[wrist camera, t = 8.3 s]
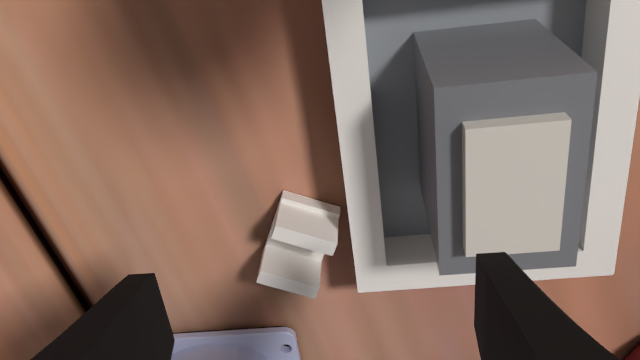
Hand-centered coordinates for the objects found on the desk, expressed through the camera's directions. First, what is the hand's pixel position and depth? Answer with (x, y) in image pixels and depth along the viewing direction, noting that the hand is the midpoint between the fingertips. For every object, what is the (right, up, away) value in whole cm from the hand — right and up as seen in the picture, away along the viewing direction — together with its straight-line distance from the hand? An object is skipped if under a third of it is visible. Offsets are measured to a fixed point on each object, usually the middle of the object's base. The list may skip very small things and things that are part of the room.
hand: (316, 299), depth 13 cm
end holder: (+6, +5, +8) cm, 11 cm away
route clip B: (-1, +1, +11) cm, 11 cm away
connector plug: (+6, +5, +8) cm, 11 cm away
